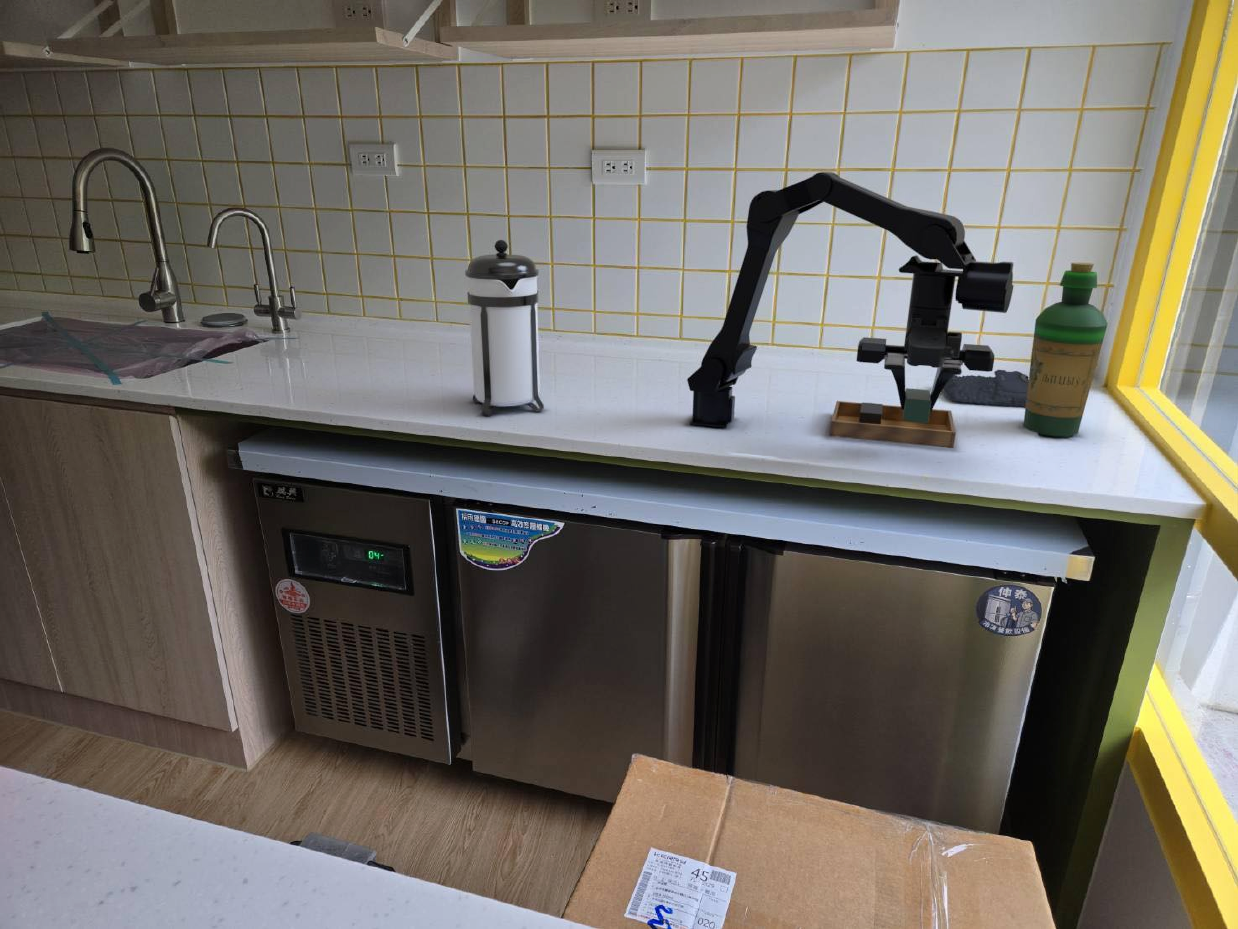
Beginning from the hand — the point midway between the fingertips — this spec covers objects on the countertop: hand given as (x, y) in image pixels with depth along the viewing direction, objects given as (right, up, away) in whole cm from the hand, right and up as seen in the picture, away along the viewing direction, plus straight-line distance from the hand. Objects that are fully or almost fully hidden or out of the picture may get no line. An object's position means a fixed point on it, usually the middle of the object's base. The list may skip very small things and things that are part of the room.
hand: (915, 410), depth 124 cm
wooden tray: (+1, -3, +15) cm, 15 cm away
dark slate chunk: (+30, +5, +38) cm, 49 cm away
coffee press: (-66, +3, +30) cm, 73 cm away
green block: (0, -1, 0) cm, 1 cm away
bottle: (+29, -3, +17) cm, 33 cm away
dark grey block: (-2, -2, +16) cm, 16 cm away
